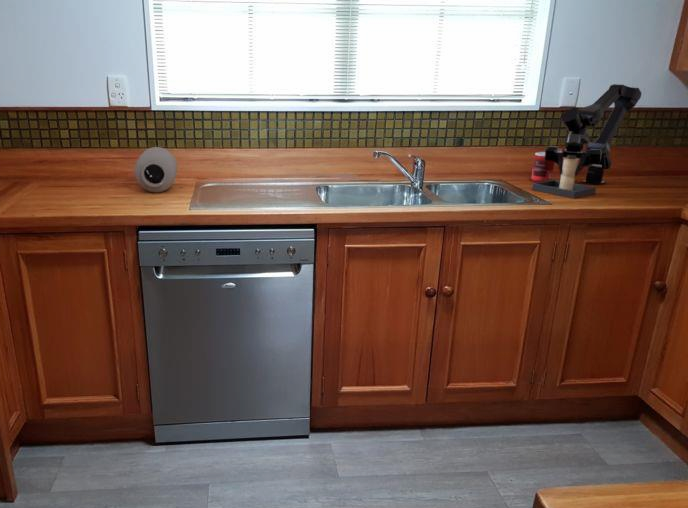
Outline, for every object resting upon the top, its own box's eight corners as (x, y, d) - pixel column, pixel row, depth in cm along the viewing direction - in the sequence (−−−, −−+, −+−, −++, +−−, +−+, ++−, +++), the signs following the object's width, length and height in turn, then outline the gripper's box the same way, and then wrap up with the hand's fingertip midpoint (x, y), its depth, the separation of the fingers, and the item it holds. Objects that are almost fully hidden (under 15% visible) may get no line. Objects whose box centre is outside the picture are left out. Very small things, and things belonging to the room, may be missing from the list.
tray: (553, 185, 236) (554, 179, 235) (594, 193, 223) (596, 187, 222) (532, 189, 230) (533, 183, 229) (573, 198, 216) (575, 191, 215)
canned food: (547, 179, 248) (552, 151, 244) (553, 183, 241) (558, 155, 237) (528, 178, 249) (532, 151, 245) (534, 182, 242) (538, 154, 238)
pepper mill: (563, 189, 227) (569, 154, 222) (575, 191, 223) (581, 155, 218) (555, 191, 224) (561, 155, 219) (567, 193, 221) (573, 157, 216)
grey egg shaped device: (195, 172, 233) (180, 175, 209) (171, 201, 237) (154, 207, 212) (157, 138, 231) (138, 138, 207) (133, 168, 234) (112, 170, 210)
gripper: (550, 123, 222) (540, 158, 217) (606, 126, 214) (598, 163, 209) (549, 142, 231) (540, 176, 227) (603, 146, 223) (595, 181, 218)
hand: (568, 174), depth 220 cm, fingers closed on pepper mill, 5 cm apart
